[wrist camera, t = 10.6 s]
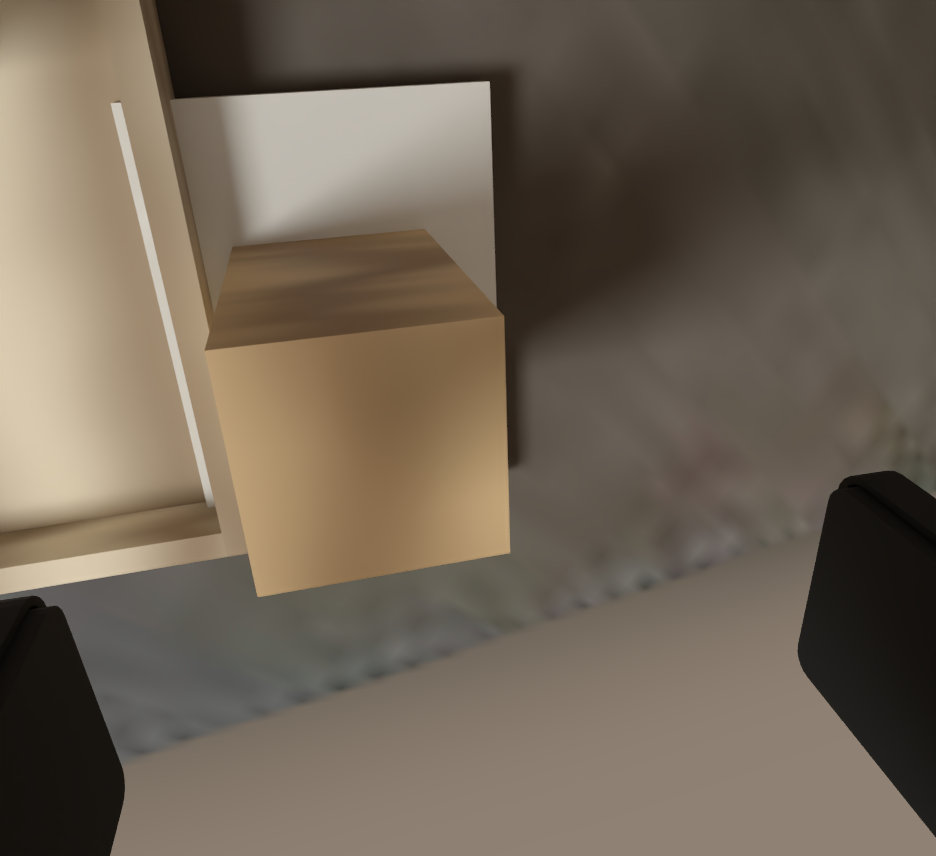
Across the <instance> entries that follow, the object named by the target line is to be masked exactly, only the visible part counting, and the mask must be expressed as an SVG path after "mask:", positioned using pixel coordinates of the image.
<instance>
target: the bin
mask: <svg viewBox="0 0 936 856" xmlns="http://www.w3.org/2000/svg"><path fill="white" fill-rule="evenodd" d="M171 99H175V96H174V91H173V86H172V81H171V76H170V71H169V66H168V61H167V56H166V51H165V47H164V42H163V37H162V32H161V27H160V22H159V17H158V12H157V7H156V2H155V0H0V594H6V593H12V592H18V591H24V590H30V589H36V588H42V587H48V586H54V585H60V584H66V583H72V582H78V581H84V580H90V579H96V578H102V577H108V576H114V575H120V574H126V573H132V572H138V571H144V570H150V569H156V568H162V567H168V566H174V565H180V564H186V563H192V562H198V561H204V560H210V559H216V558H222V557H228V556H234V555H240V554H246V553H248V550H247V545H246V541H245V536H244V531H243V527H242V522H241V517H240V513H239V508H238V504H237V499H236V494H235V490H234V485H233V480H232V476H231V471H230V467H229V462H228V457H227V453H226V448H225V444H224V439H223V434H222V430H221V425H220V420H219V416H218V411H217V407H216V402H215V397H214V393H213V388H212V383H211V379H210V374H209V370H208V365H207V360H206V356H205V351H204V350H205V347H206V343H207V339H208V336H209V332H210V328H211V325H212V321H213V317H214V311H213V307H212V302H211V297H210V292H209V287H208V282H207V278H206V273H205V268H204V263H203V258H202V253H201V249H200V244H199V239H198V234H197V229H196V224H195V220H194V215H193V210H192V205H191V200H190V195H189V191H188V186H187V181H186V176H185V171H184V166H183V162H182V157H181V152H180V147H179V142H178V137H177V133H176V128H175V123H174V118H173V113H172V108H171V104H170V100H171ZM115 102H121V106H122V110H123V114H124V118H125V123H126V127H127V131H128V135H129V140H130V144H131V148H132V153H133V157H134V161H135V165H136V170H137V174H138V178H139V182H140V187H141V191H142V195H143V199H144V204H145V208H146V212H147V217H148V221H149V225H150V229H151V234H152V238H153V242H154V246H155V251H156V255H157V259H158V264H159V268H160V272H161V276H162V281H163V285H164V289H165V293H166V298H167V302H168V306H169V310H170V315H171V319H172V323H173V328H174V332H175V336H176V340H177V345H178V349H179V353H180V357H181V362H182V366H183V370H184V375H185V379H186V383H187V387H188V392H189V396H190V400H191V404H192V409H193V413H194V417H195V422H196V426H197V430H198V434H199V439H200V443H201V447H202V451H203V456H204V460H205V464H206V468H207V473H208V477H209V481H210V486H211V490H212V494H213V498H214V503H215V507H213V508H208V507H207V503H206V499H205V495H204V491H203V486H202V482H201V478H200V474H199V470H198V466H197V461H196V457H195V453H194V449H193V445H192V441H191V436H190V432H189V428H188V424H187V420H186V416H185V411H184V407H183V403H182V399H181V395H180V391H179V386H178V382H177V378H176V374H175V370H174V366H173V361H172V357H171V353H170V349H169V345H168V341H167V336H166V332H165V328H164V324H163V320H162V316H161V311H160V307H159V303H158V299H157V295H156V291H155V286H154V282H153V278H152V274H151V270H150V266H149V261H148V257H147V253H146V249H145V245H144V241H143V236H142V232H141V228H140V224H139V220H138V216H137V211H136V207H135V203H134V199H133V195H132V191H131V186H130V182H129V178H128V174H127V170H126V166H125V161H124V157H123V153H122V149H121V145H120V141H119V136H118V132H117V128H116V124H115V120H114V116H113V111H112V107H111V103H115Z"/></svg>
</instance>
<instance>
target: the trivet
mask: <svg viewBox="0 0 936 856" xmlns="http://www.w3.org/2000/svg"><path fill="white" fill-rule="evenodd" d="M170 104H171V108H172V113H173V118H174V123H175V128H176V133H177V137H178V142H179V147H180V152H181V157H182V162H183V166H184V171H185V176H186V181H187V186H188V191H189V195H190V200H191V205H192V210H193V215H194V220H195V224H196V229H197V234H198V239H199V244H200V249H201V253H202V258H203V263H204V268H205V273H206V278H207V282H208V287H209V292H210V297H211V302H212V307H213V311H214V313H215V310H216V306H217V302H218V299H219V295H220V291H221V287H222V284H223V280H224V276H225V273H226V269H227V265H228V262H229V258H230V254H231V250H232V247H235V246H246V245H257V244H268V243H279V242H290V241H301V240H311V239H322V238H333V237H344V236H355V235H366V234H377V233H388V232H399V231H409V230H420V229H425V230H426V231H427V232H428V233H429V234H430V235H431V236H432V237H433V239H434V240H435V241H436V242H437V243H438V244H439V245H440V246H441V247H442V248H443V250H444V251H445V252H446V253H447V254H448V255H449V256H450V257H451V258H452V259H453V260H454V262H455V263H456V264H457V265H458V266H459V267H460V268H461V269H462V270H463V271H464V273H465V274H466V275H467V276H468V277H469V278H470V279H471V280H472V281H473V282H474V283H475V285H476V286H477V287H478V288H479V289H480V290H481V291H482V292H483V293H484V294H485V296H486V297H487V298H488V299H489V300H490V301H491V302H492V303H493V304H494V305H495V307H496V308H497V303H496V271H495V238H494V205H493V172H492V139H491V106H490V81H469V82H452V83H434V84H417V85H399V86H382V87H365V88H347V89H330V90H312V91H295V92H277V93H260V94H243V95H225V96H208V97H190V98H175V99H171V100H170ZM111 107H112V111H113V116H114V120H115V124H116V128H117V132H118V136H119V141H120V145H121V149H122V153H123V157H124V161H125V166H126V170H127V174H128V178H129V182H130V186H131V191H132V195H133V199H134V203H135V207H136V211H137V216H138V220H139V224H140V228H141V232H142V236H143V241H144V245H145V249H146V253H147V257H148V261H149V266H150V270H151V274H152V278H153V282H154V286H155V291H156V295H157V299H158V303H159V307H160V311H161V316H162V320H163V324H164V328H165V332H166V336H167V341H168V345H169V349H170V353H171V357H172V361H173V366H174V370H175V374H176V378H177V382H178V386H179V391H180V395H181V399H182V403H183V407H184V411H185V416H186V420H187V424H188V428H189V432H190V436H191V441H192V445H193V449H194V453H195V457H196V461H197V466H198V470H199V474H200V478H201V482H202V486H203V491H204V495H205V499H206V503H207V507H208V508H213V507H215V503H214V498H213V494H212V490H211V486H210V481H209V477H208V473H207V468H206V464H205V460H204V456H203V451H202V447H201V443H200V439H199V434H198V430H197V426H196V422H195V417H194V413H193V409H192V404H191V400H190V396H189V392H188V387H187V383H186V379H185V375H184V370H183V366H182V362H181V357H180V353H179V349H178V345H177V340H176V336H175V332H174V328H173V323H172V319H171V315H170V310H169V306H168V302H167V298H166V293H165V289H164V285H163V281H162V276H161V272H160V268H159V264H158V259H157V255H156V251H155V246H154V242H153V238H152V234H151V229H150V225H149V221H148V217H147V212H146V208H145V204H144V199H143V195H142V191H141V187H140V182H139V178H138V174H137V170H136V165H135V161H134V157H133V153H132V148H131V144H130V140H129V135H128V131H127V127H126V123H125V118H124V114H123V110H122V106H121V102H115V103H111Z"/></svg>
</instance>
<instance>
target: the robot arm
mask: <svg viewBox="0 0 936 856" xmlns="http://www.w3.org/2000/svg"><path fill="white" fill-rule="evenodd" d="M798 657H799V661H800V664H801V666H802V669H803V671H804V672H805V674H806V675H807V677H808V678H809V679H810V681H811V682H812V683H813V684H814V686H815V687H816V688H817V689H818V690H819V692H820V693H821V694H822V696H823V697H824V698H825V700H826V701H827V702H828V703H829V705H830V706H831V707H832V708H833V710H834V711H835V712H836V713H837V714H838V716H839V717H840V718H841V720H842V721H843V722H844V723H845V724H846V726H847V727H848V728H849V730H850V731H851V732H852V733H853V735H854V736H855V737H856V738H857V739H858V741H859V742H860V743H861V745H862V746H863V747H864V748H865V749H866V751H867V752H868V753H869V755H870V756H871V757H872V758H873V760H874V761H875V762H876V763H877V765H878V766H879V767H880V768H881V769H882V771H883V772H884V773H885V775H886V776H887V777H888V778H889V780H890V781H891V782H892V783H893V785H894V786H895V787H896V788H897V790H898V791H899V792H900V793H901V795H902V796H903V797H904V798H905V799H906V801H907V802H908V803H909V805H910V806H911V807H912V808H913V810H914V811H915V812H916V813H917V815H918V816H919V817H920V818H921V819H922V821H923V822H924V823H925V824H926V826H927V827H928V828H929V830H930V831H931V832H932V833H933V835H934V836H935V837H936V498H934V497H933V496H931V495H930V494H929V493H927V492H926V491H924V490H923V489H922V488H920V487H919V486H917V485H916V484H914V483H913V482H912V481H910V480H909V479H907V478H906V477H905V476H903V475H902V474H899V473H897V472H895V471H882V472H875V473H869V474H862V475H855V476H850V477H847V478H845V479H844V480H843V481H842V482H841V483H840V485H839V488H838V490H835V491H833V493H832V494H831V495H830V498H829V500H828V505H827V509H826V514H825V519H824V524H823V528H822V533H821V538H820V543H819V548H818V552H817V557H816V562H815V567H814V571H813V576H812V581H811V586H810V590H809V595H808V601H807V605H806V610H805V614H804V619H803V624H802V628H801V633H800V638H799V643H798ZM124 792H125V783H124V773H123V769H122V766H121V763H120V761H119V758H118V755H117V753H116V750H115V747H114V745H113V742H112V739H111V737H110V734H109V731H108V729H107V726H106V723H105V721H104V718H103V716H102V713H101V710H100V708H99V705H98V702H97V700H96V697H95V694H94V692H93V689H92V686H91V684H90V681H89V678H88V676H87V673H86V671H85V668H84V665H83V663H82V660H81V657H80V655H79V652H78V649H77V647H76V644H75V641H74V639H73V636H72V633H71V631H70V628H69V625H68V623H67V620H66V618H65V615H64V613H63V611H62V610H61V609H60V608H59V607H58V606H50V607H46V605H45V603H44V601H43V600H42V599H41V598H39V597H37V596H27V597H20V598H13V599H6V600H0V856H110V853H111V849H112V845H113V841H114V837H115V834H116V830H117V825H118V821H119V818H120V814H121V810H122V805H123V801H124Z"/></svg>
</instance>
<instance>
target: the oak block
mask: <svg viewBox="0 0 936 856" xmlns="http://www.w3.org/2000/svg"><path fill="white" fill-rule="evenodd" d="M204 351H205V356H206V360H207V365H208V370H209V374H210V379H211V383H212V388H213V393H214V397H215V402H216V407H217V411H218V416H219V420H220V425H221V430H222V434H223V439H224V444H225V448H226V453H227V457H228V462H229V467H230V471H231V476H232V480H233V485H234V490H235V494H236V499H237V504H238V508H239V513H240V517H241V522H242V527H243V531H244V536H245V541H246V545H247V550H248V554H249V559H250V564H251V568H252V573H253V578H254V582H255V587H256V591H257V596H258V597H262V596H267V595H273V594H279V593H284V592H290V591H296V590H302V589H307V588H313V587H319V586H324V585H330V584H336V583H341V582H347V581H353V580H358V579H364V578H370V577H376V576H381V575H387V574H393V573H398V572H404V571H410V570H415V569H421V568H427V567H432V566H438V565H444V564H450V563H455V562H461V561H467V560H472V559H478V558H484V557H489V556H495V555H501V554H506V553H510V531H509V490H508V449H507V408H506V368H505V327H504V315H503V314H502V313H501V312H500V311H499V310H498V309H497V308H496V307H495V305H494V304H493V303H492V302H491V301H490V300H489V299H488V298H487V297H486V296H485V294H484V293H483V292H482V291H481V290H480V289H479V288H478V287H477V286H476V285H475V283H474V282H473V281H472V280H471V279H470V278H469V277H468V276H467V275H466V274H465V273H464V271H463V270H462V269H461V268H460V267H459V266H458V265H457V264H456V263H455V262H454V260H453V259H452V258H451V257H450V256H449V255H448V254H447V253H446V252H445V251H444V250H443V248H442V247H441V246H440V245H439V244H438V243H437V242H436V241H435V240H434V239H433V237H432V236H431V235H430V234H429V233H428V232H427V231H426V230H425V229H420V230H409V231H399V232H388V233H377V234H366V235H355V236H344V237H333V238H322V239H311V240H301V241H290V242H279V243H268V244H257V245H246V246H235V247H232V250H231V254H230V258H229V262H228V265H227V269H226V273H225V276H224V280H223V284H222V287H221V291H220V295H219V299H218V302H217V306H216V310H215V313H214V317H213V321H212V325H211V328H210V332H209V336H208V339H207V343H206V347H205V350H204Z"/></svg>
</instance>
